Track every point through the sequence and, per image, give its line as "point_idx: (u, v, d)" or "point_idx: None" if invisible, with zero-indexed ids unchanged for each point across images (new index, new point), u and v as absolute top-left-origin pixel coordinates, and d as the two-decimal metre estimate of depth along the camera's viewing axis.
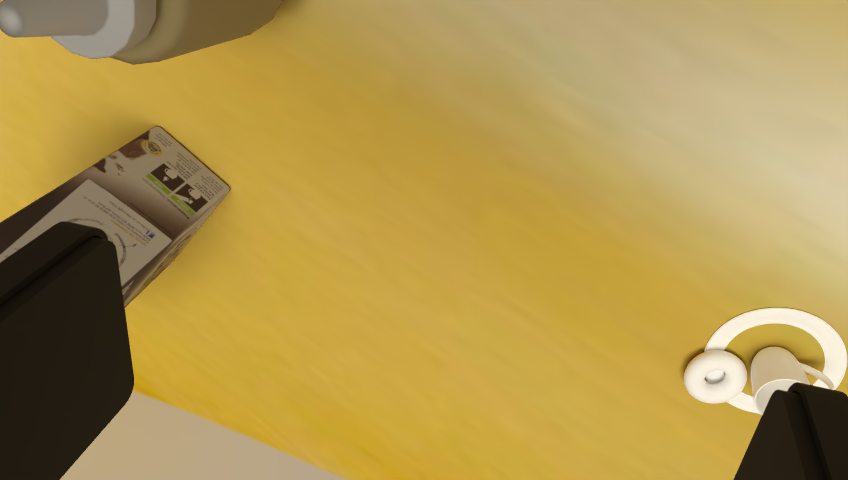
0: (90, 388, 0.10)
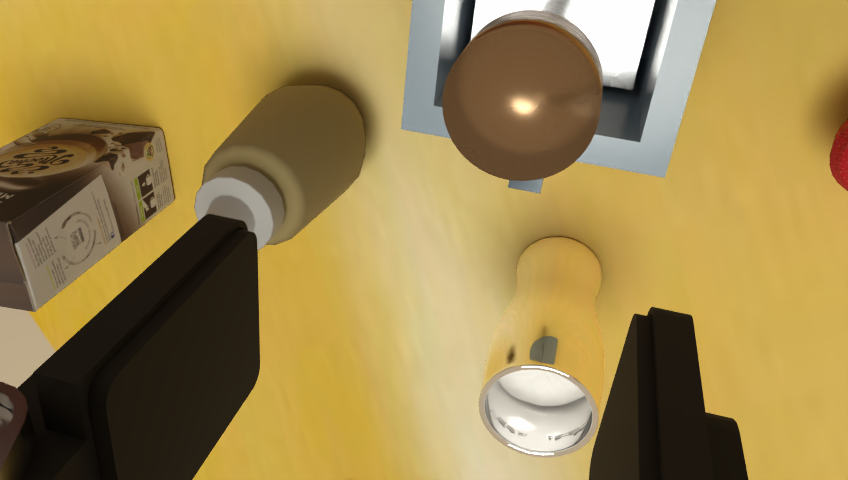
0: (231, 372, 0.11)
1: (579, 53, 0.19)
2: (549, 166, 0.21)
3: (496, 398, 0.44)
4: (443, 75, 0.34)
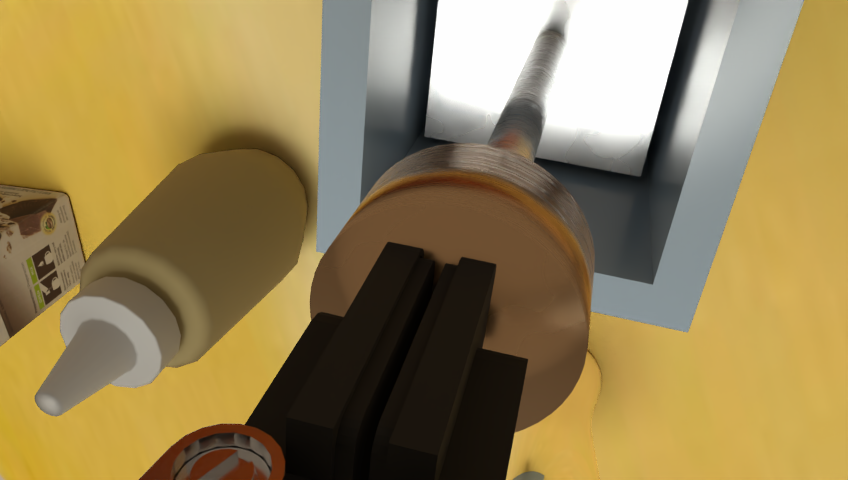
0: None
1: (547, 251, 0.10)
2: None
3: None
4: (375, 176, 0.24)
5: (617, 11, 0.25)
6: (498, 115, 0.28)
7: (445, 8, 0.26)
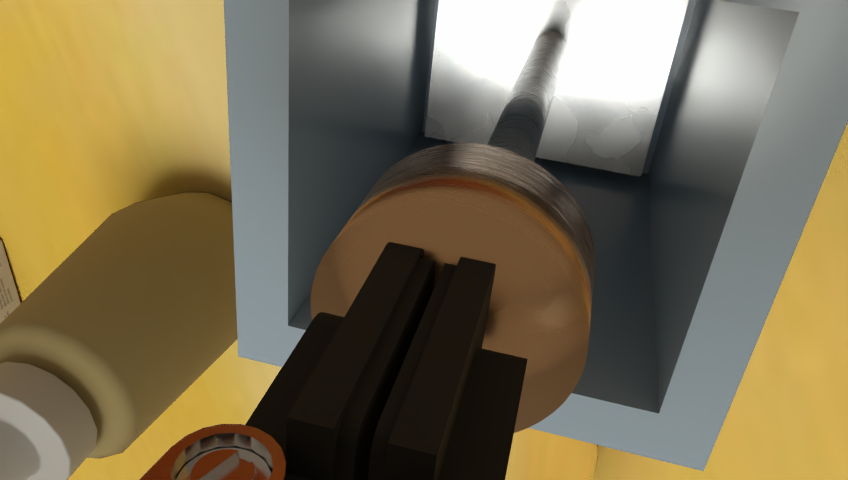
0: None
1: (548, 251, 0.10)
2: None
3: None
4: (312, 263, 0.19)
5: (617, 11, 0.25)
6: (498, 115, 0.28)
7: (446, 8, 0.26)
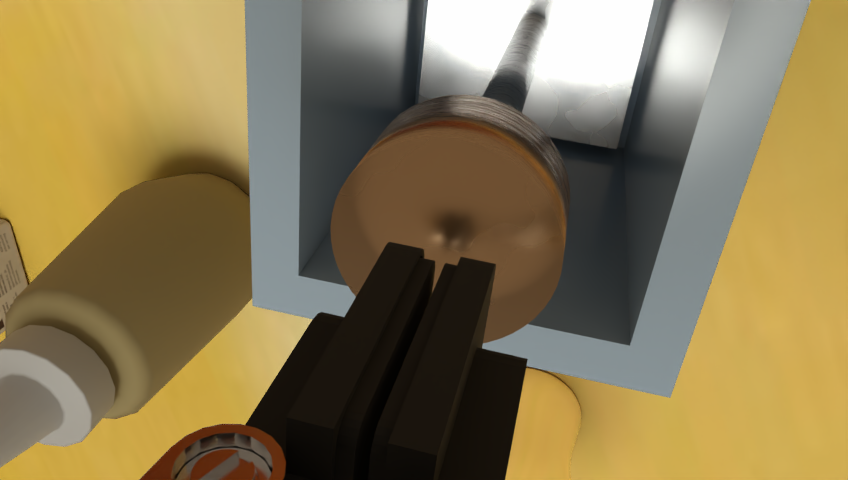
0: None
1: (529, 175, 0.13)
2: (491, 328, 0.14)
3: None
4: (318, 220, 0.22)
5: None
6: None
7: None
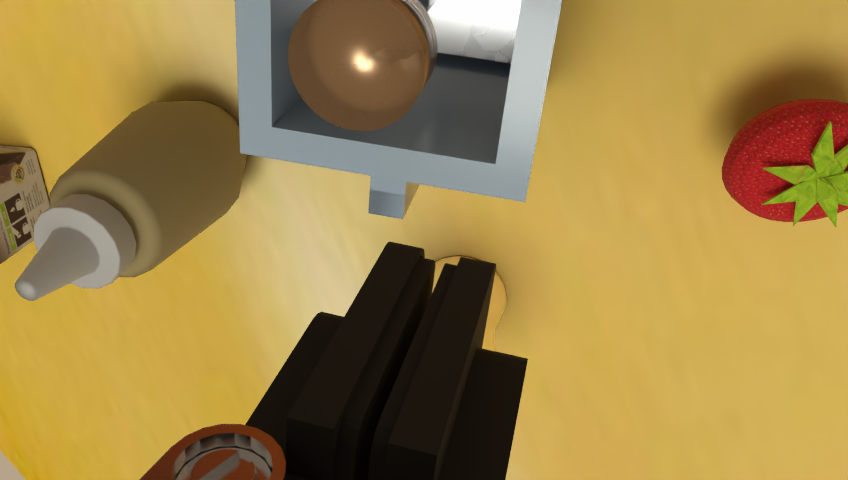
0: None
1: (400, 13, 0.22)
2: (386, 116, 0.24)
3: None
4: (285, 92, 0.31)
5: None
6: None
7: None
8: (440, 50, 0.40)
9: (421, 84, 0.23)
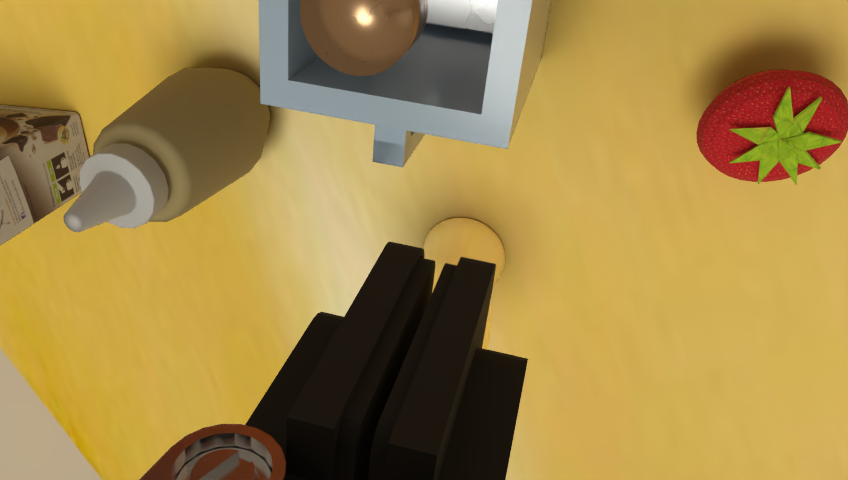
0: None
1: None
2: (382, 63, 0.28)
3: None
4: (301, 51, 0.35)
5: None
6: None
7: None
8: (444, 23, 0.44)
9: (411, 35, 0.27)
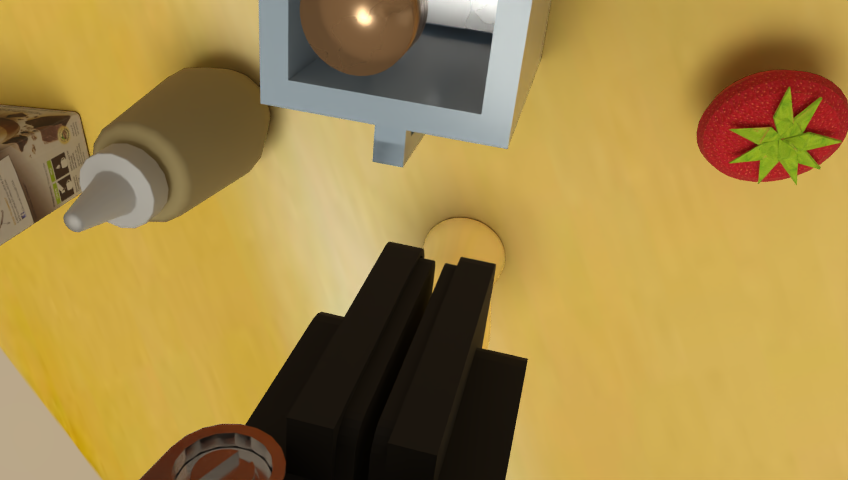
0: None
1: None
2: (382, 63, 0.28)
3: None
4: (301, 51, 0.35)
5: None
6: None
7: None
8: (444, 23, 0.44)
9: (411, 35, 0.27)
